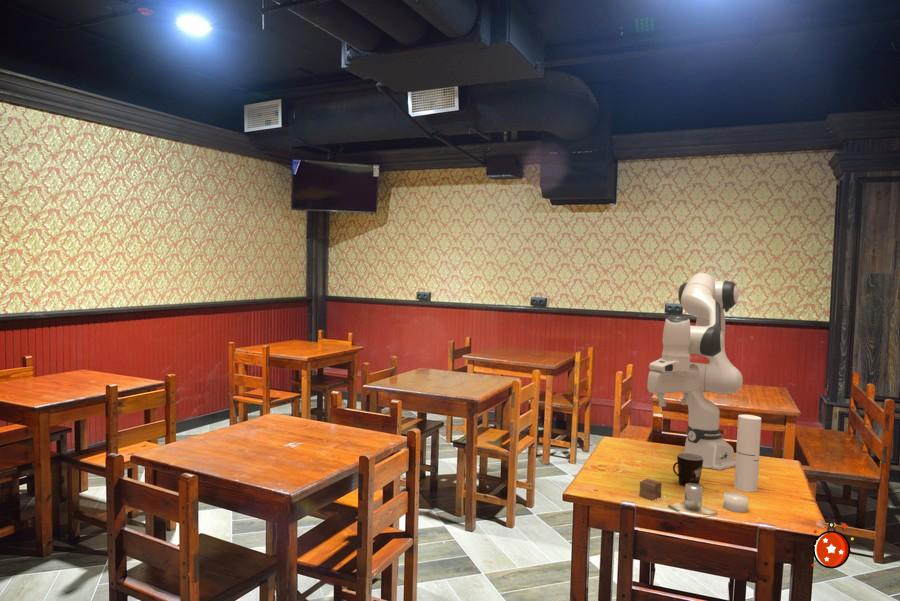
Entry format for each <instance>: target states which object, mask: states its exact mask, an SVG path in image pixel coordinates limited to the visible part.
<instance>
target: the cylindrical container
mask: <svg viewBox="0 0 900 601" xmlns="http://www.w3.org/2000/svg"><path fill="white" fill-rule="evenodd" d="M737 416H738V417H737V431H736V432H737V435H736V449H735V450H736V453H735V459H736V466H734V467H735V470H734V485H733V486H734V489H736V490H738V491H741V492H745V493H756V492H758V486H759V485H758V482H759V469H760V468H759V466H760V450H761V449H760V447H761V433H762V432H761V430H762V417H760V416H757V415H753V414H738V415H737Z"/></svg>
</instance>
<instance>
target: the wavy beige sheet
mask: <svg viewBox="0 0 900 601" xmlns="http://www.w3.org/2000/svg"><path fill="white" fill-rule="evenodd" d="M667 508H669V509H671V510H673V511H675V510H677V511H683V512H690V513H697V514H703V515H714V516H716V515H715V514H717V515H718V512H717V511H715V510H713V509H712V508H709V507H707V506H704V505H703V504H702V507H701V511H690V510H687V509H685V508H684V501H682V502H675V503H670V504H668V505H667ZM677 511H676V512H677Z"/></svg>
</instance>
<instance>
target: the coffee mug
mask: <svg viewBox="0 0 900 601" xmlns="http://www.w3.org/2000/svg"><path fill="white" fill-rule="evenodd" d="M676 458H677V460H676V462H675V463H674V464H673V465H672V471H673V473H674V475H676V476H678V484H679V486H681V487H684V488H685V485H686V484H687V483H695V484H699V485H700V480H701V476H702V470H703V467H702V465H703V459H704V458H703V457H702V456H700V455H696V454H692V453H684V452H679V453H677V455H676ZM676 466H677V471H678V472H676V470H675V469H676Z"/></svg>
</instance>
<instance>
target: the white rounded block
mask: <svg viewBox="0 0 900 601" xmlns="http://www.w3.org/2000/svg"><path fill="white" fill-rule="evenodd" d="M722 504H723V505H722V508H723V509H725V510H727V511H729V512H732V513H741V514H743V513H747V512H748V510H749V497H748V496H747V495H746V494H743V493H739V492H732V491H727V492H724V493H723V502H722Z"/></svg>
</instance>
